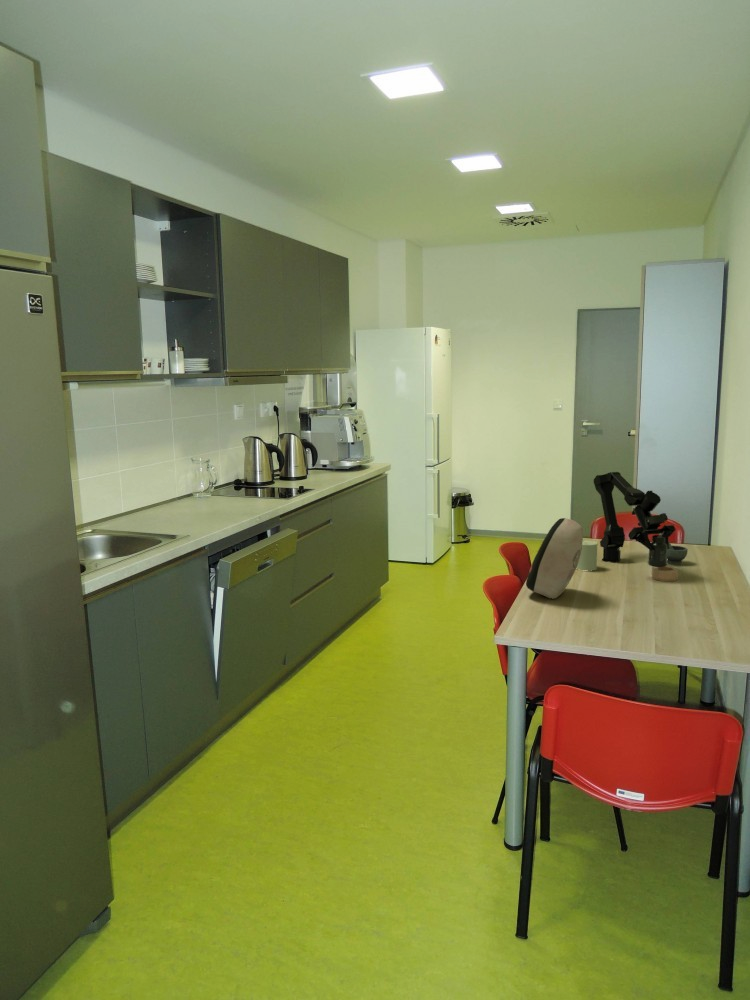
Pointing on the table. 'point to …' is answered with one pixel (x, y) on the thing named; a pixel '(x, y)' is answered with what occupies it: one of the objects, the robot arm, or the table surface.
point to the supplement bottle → (658, 552)
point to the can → (588, 556)
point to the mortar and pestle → (676, 554)
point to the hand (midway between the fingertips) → (660, 549)
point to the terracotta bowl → (665, 573)
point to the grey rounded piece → (556, 559)
